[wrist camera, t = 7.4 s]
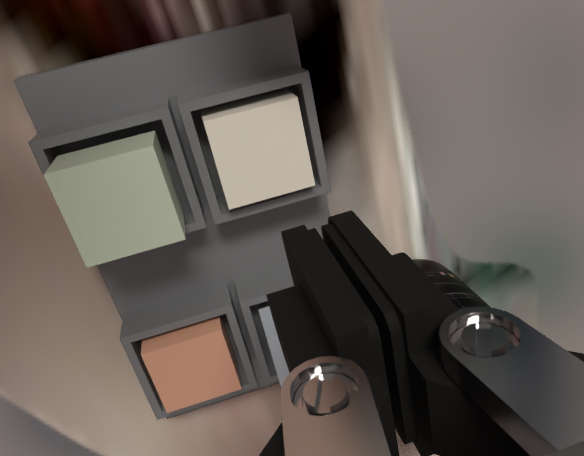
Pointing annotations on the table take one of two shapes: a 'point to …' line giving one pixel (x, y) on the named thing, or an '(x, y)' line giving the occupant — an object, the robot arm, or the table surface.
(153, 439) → the table surface
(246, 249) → the keypad
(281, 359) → the slate key
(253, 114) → the ivory key
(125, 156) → the sage key
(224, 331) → the terracotta key
